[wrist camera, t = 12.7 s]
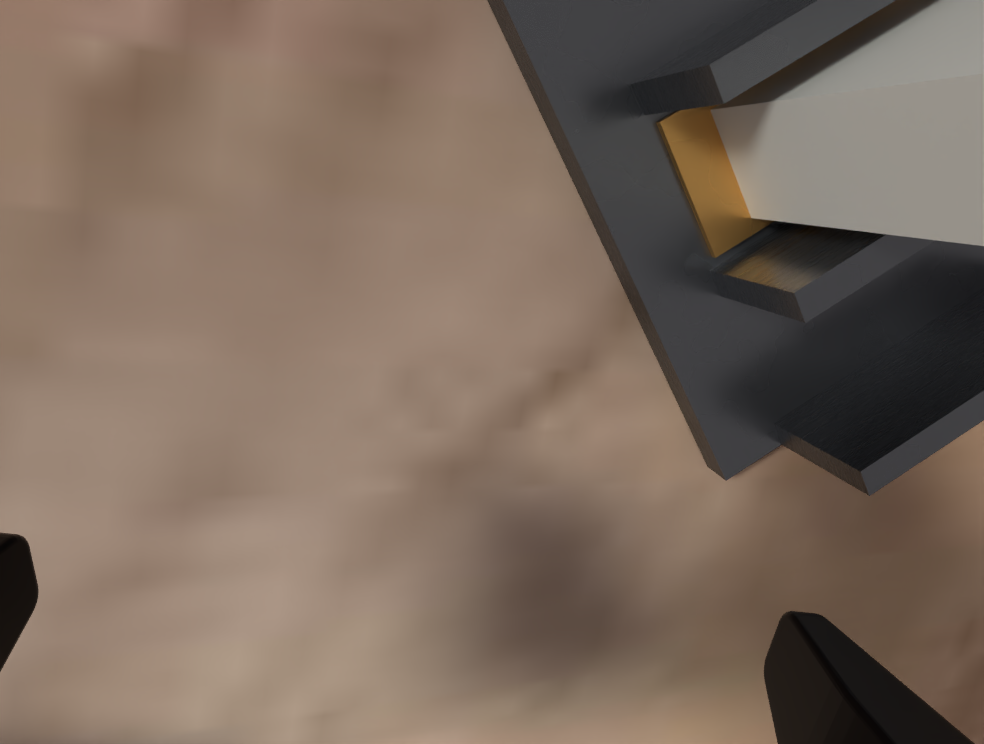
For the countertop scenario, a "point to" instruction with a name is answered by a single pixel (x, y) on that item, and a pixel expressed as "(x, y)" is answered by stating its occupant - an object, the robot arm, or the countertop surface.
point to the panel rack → (750, 242)
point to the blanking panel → (871, 128)
